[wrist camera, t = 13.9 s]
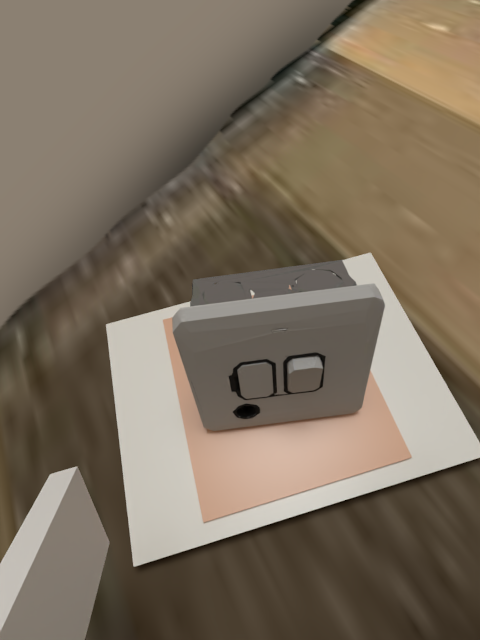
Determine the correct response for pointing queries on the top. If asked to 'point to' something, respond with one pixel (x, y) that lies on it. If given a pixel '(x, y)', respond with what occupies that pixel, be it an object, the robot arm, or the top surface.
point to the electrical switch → (278, 344)
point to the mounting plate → (271, 436)
